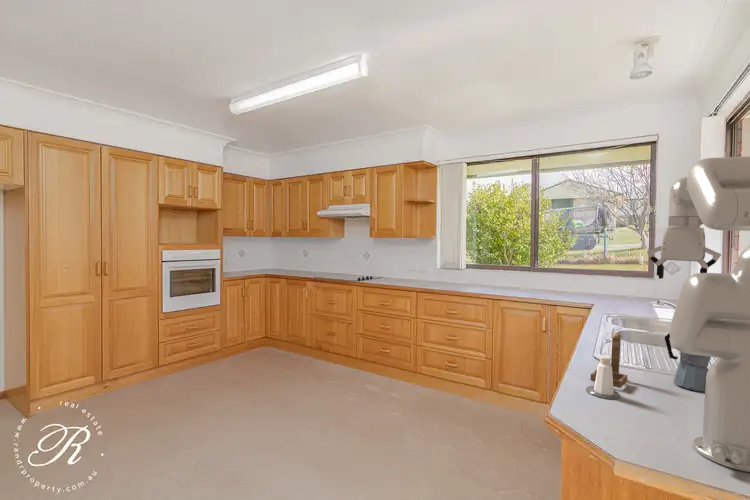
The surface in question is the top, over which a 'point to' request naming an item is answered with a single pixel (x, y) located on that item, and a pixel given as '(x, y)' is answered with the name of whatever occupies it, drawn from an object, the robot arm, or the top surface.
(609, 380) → the pepper shaker
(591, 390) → the coaster
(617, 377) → the ring stand
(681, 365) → the moka pot
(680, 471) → the top surface
